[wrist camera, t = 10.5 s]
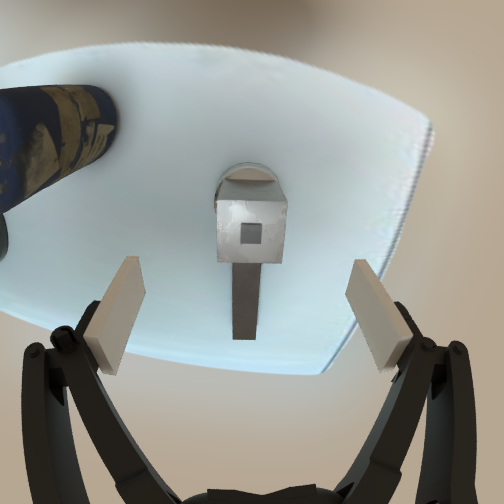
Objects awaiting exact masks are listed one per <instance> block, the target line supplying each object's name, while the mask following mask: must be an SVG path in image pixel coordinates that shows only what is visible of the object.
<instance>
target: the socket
mask: <svg viewBox="0 0 504 504" xmlns="http://www.w3.org/2000/svg"><path fill="white" fill-rule="evenodd" d="M287 204H288V202H287V200H286V198H285V196H284V194H283V192H282V190H281V187H280V185H279V183H278V181H273V180H248V179H223V182H222V185H221V188H220V191H219V195H218V198H217V259H218V262H234V263H281V264H282V256H283V246H284V236H285V226H286V215H287Z"/></svg>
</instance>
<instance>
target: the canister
mask: <svg viewBox="0 0 504 504" xmlns="http://www.w3.org/2000/svg"><path fill="white" fill-rule="evenodd" d="M116 122H117V119H116V111H115V107H114V105H113V102H112V100H111V99H110V97H109V96H108V95H107V94H106V93H105V92H104V91H103V90H101V89H100V88H97V87H95V86H91V85H42V86H27V87H16V88H7V89H0V214H3V213H5V212H7V211H8V210H10V209H11V208H13V207H15V206H16V205H18V204H20V203H21V202H23V201H24V200H26V199H28V198H29V197H31V196H32V195H34V194H36V193H37V192H39V191H41V190H42V189H44V188H46V187H48V186H50V185H52V184H54V183H56V182H57V181H59V180H61V179H62V178H64V177H66V176H68V175H70V174H71V173H73V172H75V171H77V170H79V169H81V168H83V167H85V166H87V165H89V164H91V163H93V162H94V161H96V160H97V159H99V158H100V157H101V156H102V155H103V154H104V153H105V152H106V151H107V149H108V148H109V146H110V144H111V142H112V140H113V138H114V135H115V131H116Z"/></svg>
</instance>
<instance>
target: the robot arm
mask: <svg viewBox="0 0 504 504" xmlns="http://www.w3.org/2000/svg"><path fill="white" fill-rule="evenodd" d="M7 247H8V237H7V230H6V225H5V221H4V218H3V215H2V214H0V261H1V260H2V259H3V258H4V257H5V255H6V252H7ZM145 294H146V292H145V287H144V283H143V278H142V273H141V268H140V263H139V258H138V257H133V256H127V257H126V259H125V260H124V262H123V264H122V265H121V267H120V269H119V270H118V272H117V274H116V275H115V277H114V279H113V281H112V282H111V284H110V286H109V288H108V289H107V291H106V293H105V295H104V297H103V298H102V300H101V301H96V300H94V301H93V302H92V303H91V304H90V305H89V306H88V307H87V308H86V310H85V312H84V314H83V316H82V317H81V320H80V321H79V323H78V325H77V327H76V329H75V330H73V328H72V327H70V326H60V327H58V328H56V329H55V330H54V331H53V332H52V334H51V336H50V341H51V342H52V344H53V346H54V348H52V349H45V348H44V346H43V345H42V344H41V343H39V342H35V343H32V344H30V345H29V346H28V347H27V348H26V349H25V352H24V359H23V371H22V392H21V398H22V399H21V407H22V408H21V409H22V411H21V413H22V434H23V447H24V456H25V463H26V470H27V476H28V482H29V487H30V492H31V496H32V500H33V504H90V502H89V499H88V496H87V493H86V490H85V486H84V482H83V479H82V475H81V471H80V468H79V464H78V459H77V455H76V450H75V445H74V440H73V435H72V429H71V423H70V416H69V409H68V400H67V390H66V387H67V386H69V389H70V391H71V394H72V397H73V399H74V402H75V404H76V407H77V409H78V411H79V414H80V416H81V418H82V421H83V423H84V425H85V427H86V429H87V431H88V433H89V436H90V438H91V439H92V442H93V444H94V445H95V447H96V449H97V451H98V453H99V455H100V457H101V459H102V460H103V462H104V464H105V466H106V467H107V469H108V471H109V472H110V474H111V476H112V477H113V479H114V481H115V483H116V484H115V487H116V489H117V491H118V493H119V494H120V496H121V497H122V499H123V500H124V502H125V503H126V504H388V503H389V501H390V499H391V497H392V496H393V494H394V492H395V490H396V487H397V486H398V483H399V481H400V479H401V476H402V473H401V471H400V468H401V465H402V463H403V461H404V458H405V456H406V454H407V451H408V449H409V447H410V444H411V441H412V439H413V436H414V433H415V431H416V428H417V425H418V422H419V419H420V416H421V413H422V410H423V407H424V403H425V400H426V397H427V415H426V431H425V441H424V451H423V459H422V466H421V472H420V478H419V484H418V489H417V495H416V501H415V504H478V502H477V496H476V490H475V473H476V451H477V434H476V410H475V398H474V388H473V380H472V373H471V367H470V360H469V354H468V350H467V348H466V346H465V345H464V344H463V343H461V342H459V341H452V342H451V343H450V344H449V345H448V347H442V346H437V345H436V343H435V342H434V341H433V340H431V339H430V338H427V337H423V335H422V334H421V332H420V330H419V329H418V327H417V325H416V324H415V322H414V321H413V320H412V317H411V316H410V315H409V313H408V311H407V309H406V308H405V307H404V306H403V305H402V304H401V303H400V302H393V300H392V299H391V297H390V296H389V294H388V293H387V291H386V290H385V288H384V287H383V285H382V283H381V282H380V280H379V279H378V277H377V276H376V274H375V273H374V271H373V270H372V268H371V267H370V265H369V264H368V262H367V261H366V260H365V259H355V260H354V264H353V268H352V272H351V276H350V279H349V283H348V286H347V290H346V293H345V295H346V297H347V299H348V302H349V304H350V306H351V308H352V310H353V312H354V315H355V317H356V319H357V321H358V323H359V326H360V328H361V330H362V332H363V334H364V337H365V339H366V341H367V344H368V346H369V348H370V351H371V353H372V355H373V358H374V360H375V363H376V365H377V367H378V370H379V372H380V373H385V372H390V371H392V370H393V369H394V367H395V366H396V364H397V366H398V368H399V370H398V372H397V373H396V375H395V376H394V378H393V379H392V381H391V382H393V384H392V386H391V389H390V391H389V393H388V396H387V398H386V400H385V402H384V405H383V407H382V409H381V411H380V413H379V416H378V418H377V420H376V422H375V424H374V426H373V428H372V430H371V432H370V434H369V436H368V438H367V440H366V441H365V443H364V445H363V447H362V449H361V450H360V452H359V454H358V456H357V457H356V459H355V461H354V463H353V464H352V466H351V468H350V469H349V471H348V473H347V474H346V476H345V477H344V478H343V479H342V480H341V482H340V483H339V484H338V485H337V486H336V488H335V489H334V490H333V491H331V490H327V489H323V488H316V484H310V485H303V486H295V487H288V488H285V489H282V490H279V491H276V492H273V493H269V494H266V495H258V494H253V493H247V492H242V491H238V490H221V489H220V490H219V489H207V493H202V494H198V495H195V496H193V497H190V498H188V499H186V500H184V501H183V502H182V501H181V500H180V499H179V497H177V495H176V494H175V493H174V492H173V491H172V489H171V488H170V487H169V486H168V485H167V484H166V483H165V482H164V480H163V479H162V478H161V477H160V475H159V474H158V473H157V471H156V470H155V469H154V467H153V466H152V465H151V463H150V462H149V461H148V459H147V458H146V456H145V455H144V453H143V452H142V451H141V449H140V448H139V446H138V445H137V444H136V442H135V440H134V439H133V437H132V436H131V434H130V432H129V431H128V429H127V427H126V426H125V424H124V423H123V421H122V419H121V417H120V416H119V414H118V412H117V410H116V409H115V407H114V405H113V403H112V401H111V400H110V398H109V396H108V394H107V392H106V390H105V388H104V386H103V384H102V382H101V380H100V378H99V376H98V374H97V370H98V367H99V368H100V369H101V371H102V373H104V374H109V375H116V374H117V371H118V368H119V365H120V362H121V359H122V356H123V353H124V350H125V347H126V344H127V341H128V338H129V336H130V333H131V330H132V327H133V325H134V322H135V319H136V317H137V314H138V311H139V309H140V306H141V304H142V301H143V299H144V296H145Z"/></svg>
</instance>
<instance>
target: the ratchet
mask: <svg viewBox="0 0 504 504" xmlns="http://www.w3.org/2000/svg"><path fill="white" fill-rule="evenodd" d="M223 179H248V180H273V181H278V180H277V178H276V176H275V175H274V174H273V173H272V172H271V171H270V170H269V169H268V168H266V167H264V166H262V165H260V164H256V163H241V164H238V165H235V166H233V167H232V168H230V169H229V170H227V171H226V172H225V173H224V175H223V176H222V177H221V179H220V181H219V184H218V187H217V190H216V193H215V198H214V207H215V211H216V214H217V198H218V195H219V191H220V188H221V185H222V182H223ZM278 183H279V182H278ZM281 190H282V189H281ZM260 271H261V263H234V262H233V281H232V309H233V340H256V326H257V313H258V299H259V285H260Z"/></svg>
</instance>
